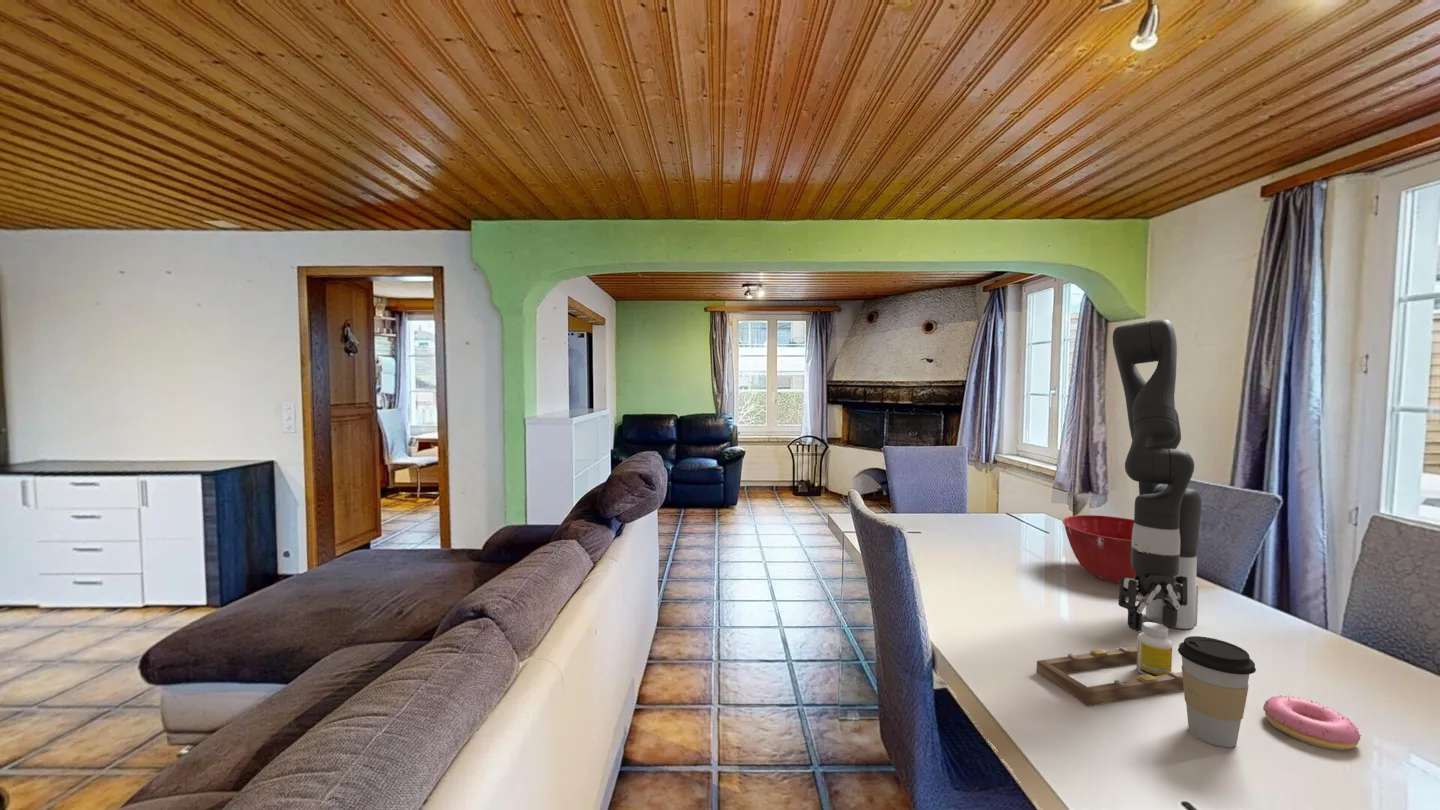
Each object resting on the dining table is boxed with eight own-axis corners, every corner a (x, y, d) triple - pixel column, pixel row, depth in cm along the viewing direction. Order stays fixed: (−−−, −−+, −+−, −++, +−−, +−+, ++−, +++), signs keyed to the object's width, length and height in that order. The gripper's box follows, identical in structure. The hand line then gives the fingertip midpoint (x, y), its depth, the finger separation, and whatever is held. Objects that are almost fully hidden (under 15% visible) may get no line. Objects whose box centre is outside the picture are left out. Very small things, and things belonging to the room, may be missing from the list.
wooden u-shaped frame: (1144, 656, 115) (1145, 642, 114) (1204, 686, 103) (1205, 670, 103) (1036, 672, 108) (1036, 657, 108) (1087, 706, 97) (1088, 689, 97)
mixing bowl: (1207, 596, 147) (1209, 540, 147) (1102, 595, 148) (1104, 540, 147) (1130, 561, 176) (1131, 515, 175) (1042, 561, 176) (1043, 514, 175)
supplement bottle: (1177, 682, 105) (1179, 633, 104) (1146, 679, 106) (1147, 631, 105) (1160, 668, 110) (1162, 621, 110) (1130, 665, 111) (1132, 619, 111)
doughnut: (1378, 750, 86) (1380, 724, 86) (1327, 760, 83) (1328, 734, 83) (1293, 709, 96) (1293, 686, 96) (1245, 717, 94) (1246, 694, 94)
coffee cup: (1160, 719, 93) (1163, 635, 93) (1210, 716, 94) (1213, 632, 93) (1215, 757, 84) (1218, 663, 83) (1270, 754, 85) (1273, 660, 84)
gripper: (1164, 540, 112) (1161, 617, 113) (1108, 544, 109) (1105, 622, 110) (1203, 551, 105) (1200, 633, 105) (1145, 555, 102) (1141, 639, 102)
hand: (1152, 627), depth 108 cm, fingers open, 8 cm apart
